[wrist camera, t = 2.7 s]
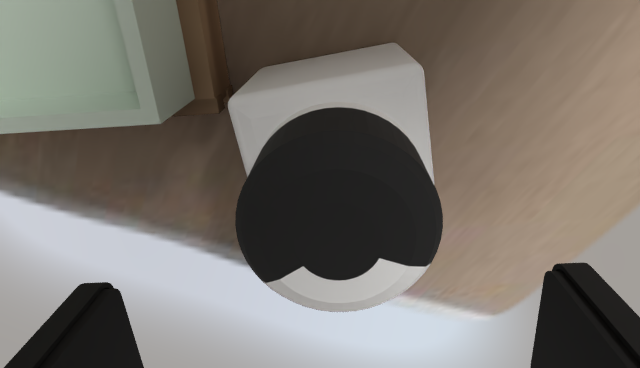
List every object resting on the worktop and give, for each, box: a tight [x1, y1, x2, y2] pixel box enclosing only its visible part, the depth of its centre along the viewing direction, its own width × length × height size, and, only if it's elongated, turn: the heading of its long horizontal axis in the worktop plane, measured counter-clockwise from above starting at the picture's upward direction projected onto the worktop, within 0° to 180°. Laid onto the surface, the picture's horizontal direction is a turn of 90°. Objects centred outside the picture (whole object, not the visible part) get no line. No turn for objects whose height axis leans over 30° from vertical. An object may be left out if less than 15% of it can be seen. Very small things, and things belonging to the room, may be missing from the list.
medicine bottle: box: [228, 43, 443, 312], centre depth 17 cm, size 7×7×12 cm
